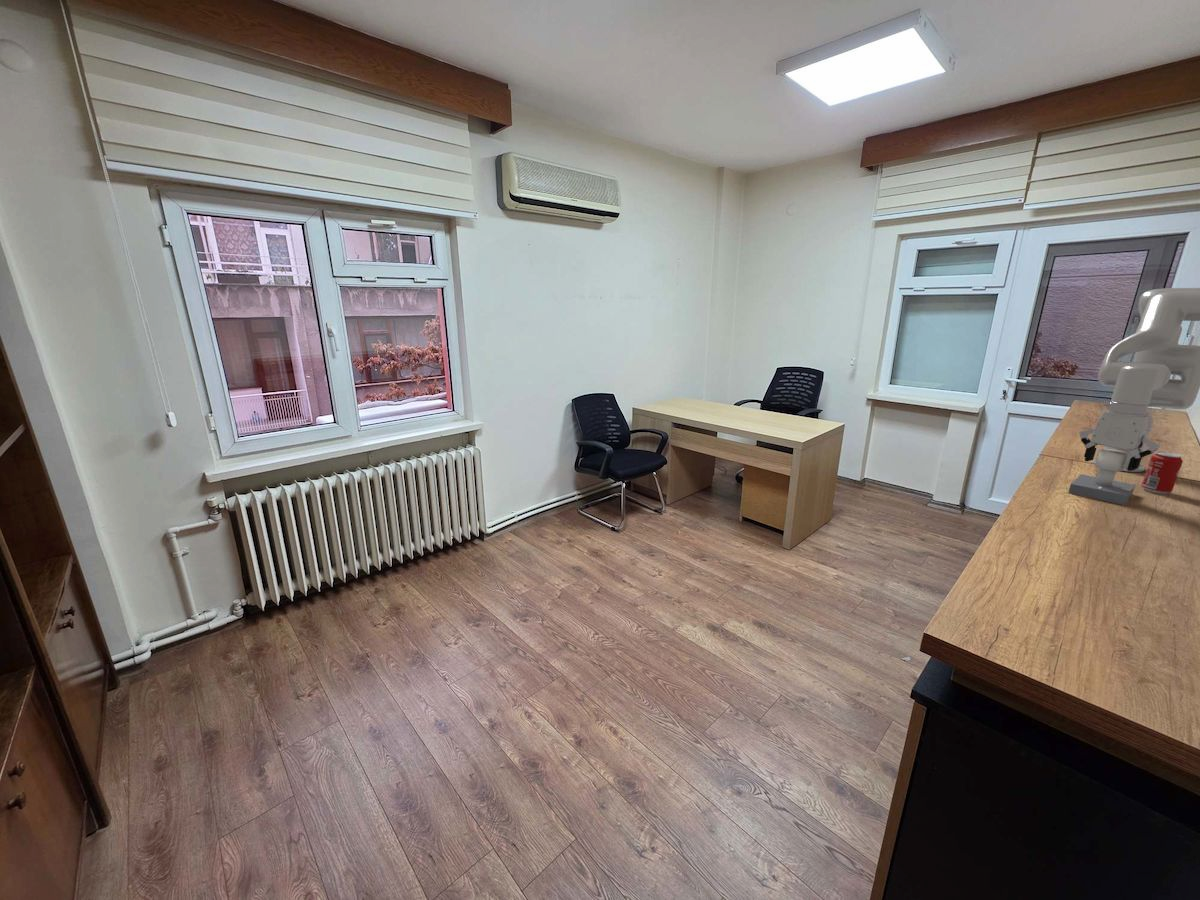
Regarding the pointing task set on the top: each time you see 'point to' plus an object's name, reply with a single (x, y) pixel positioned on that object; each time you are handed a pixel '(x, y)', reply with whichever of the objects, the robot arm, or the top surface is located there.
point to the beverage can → (1162, 472)
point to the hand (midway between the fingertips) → (1109, 465)
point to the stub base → (1102, 487)
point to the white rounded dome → (1111, 459)
